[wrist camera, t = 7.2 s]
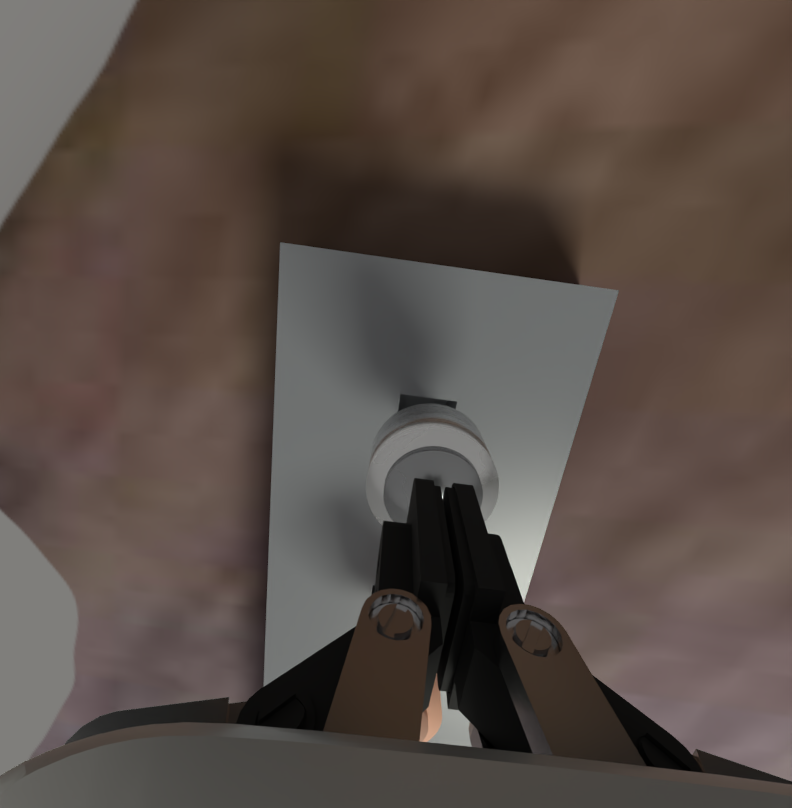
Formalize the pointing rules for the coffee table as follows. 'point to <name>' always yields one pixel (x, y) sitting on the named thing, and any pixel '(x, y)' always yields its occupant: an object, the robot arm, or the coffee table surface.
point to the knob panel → (396, 390)
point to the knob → (428, 459)
